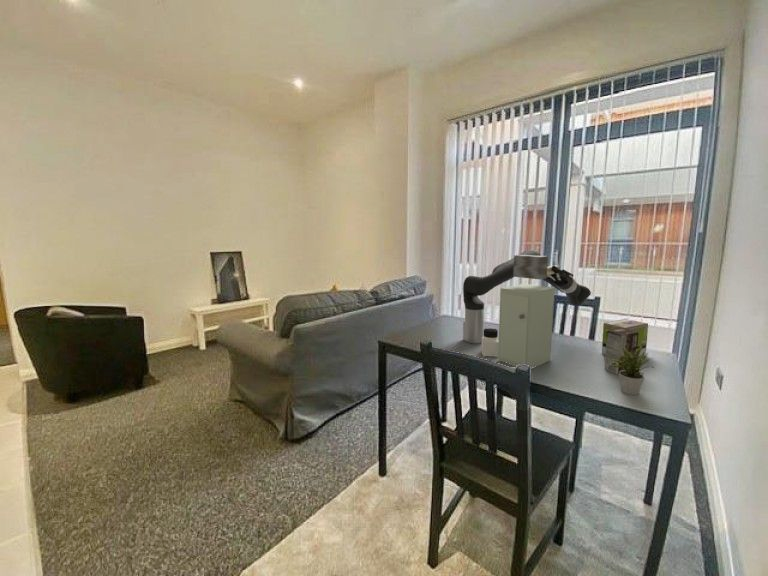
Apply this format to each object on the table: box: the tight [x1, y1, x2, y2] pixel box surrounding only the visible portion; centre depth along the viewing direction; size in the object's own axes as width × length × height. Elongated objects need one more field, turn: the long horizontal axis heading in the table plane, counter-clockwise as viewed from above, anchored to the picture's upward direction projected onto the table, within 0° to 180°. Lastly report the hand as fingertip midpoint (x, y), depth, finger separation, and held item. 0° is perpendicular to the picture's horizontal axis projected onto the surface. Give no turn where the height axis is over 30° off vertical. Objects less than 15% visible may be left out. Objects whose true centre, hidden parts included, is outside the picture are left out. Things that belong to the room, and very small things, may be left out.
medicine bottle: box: [480, 327, 499, 358], centre depth 157 cm, size 7×7×12 cm
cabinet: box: [497, 283, 556, 369], centre depth 147 cm, size 14×19×32 cm
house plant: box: [609, 344, 656, 396], centre depth 120 cm, size 14×14×16 cm
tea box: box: [601, 318, 649, 358], centre depth 153 cm, size 15×10×15 cm
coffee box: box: [603, 328, 639, 375], centre depth 136 cm, size 9×6×16 cm
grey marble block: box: [513, 254, 562, 281], centre depth 149 cm, size 12×24×9 cm, turn 126°
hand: (548, 267), depth 152 cm, fingers closed on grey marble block, 3 cm apart
